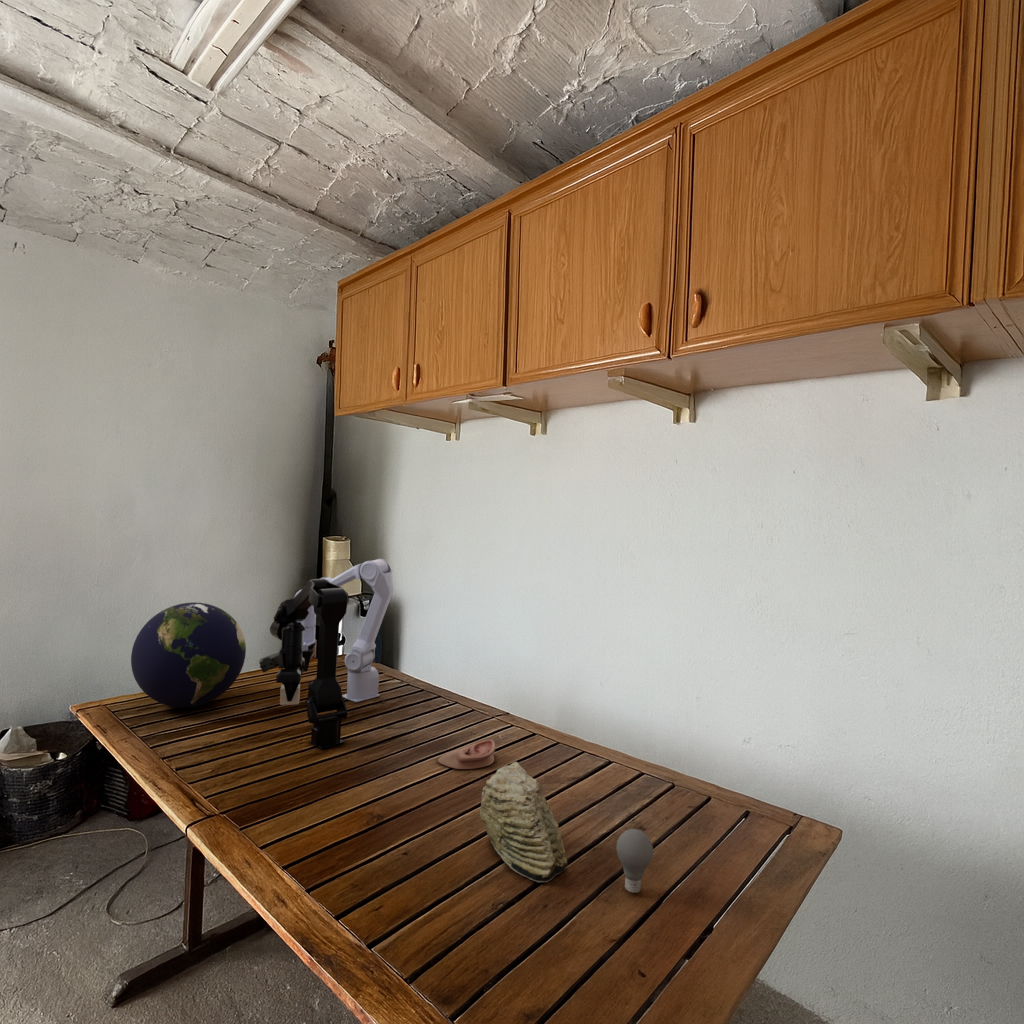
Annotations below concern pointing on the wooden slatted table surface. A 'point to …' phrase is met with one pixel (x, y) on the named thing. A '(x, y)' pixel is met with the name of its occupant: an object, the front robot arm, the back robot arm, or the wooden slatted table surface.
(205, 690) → the globe
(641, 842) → the light bulb
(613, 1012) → the wooden slatted table surface
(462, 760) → the anatomical model
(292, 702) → the block
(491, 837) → the fossil
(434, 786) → the wooden slatted table surface
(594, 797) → the wooden slatted table surface
